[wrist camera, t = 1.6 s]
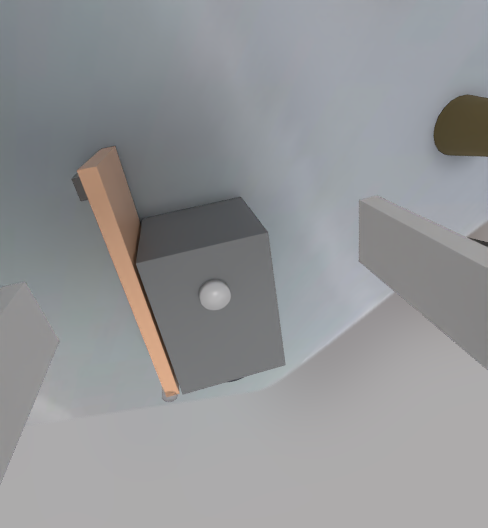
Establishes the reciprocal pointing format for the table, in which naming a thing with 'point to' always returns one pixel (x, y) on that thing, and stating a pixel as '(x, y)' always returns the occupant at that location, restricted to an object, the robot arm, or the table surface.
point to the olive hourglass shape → (463, 127)
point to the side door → (124, 249)
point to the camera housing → (212, 292)
